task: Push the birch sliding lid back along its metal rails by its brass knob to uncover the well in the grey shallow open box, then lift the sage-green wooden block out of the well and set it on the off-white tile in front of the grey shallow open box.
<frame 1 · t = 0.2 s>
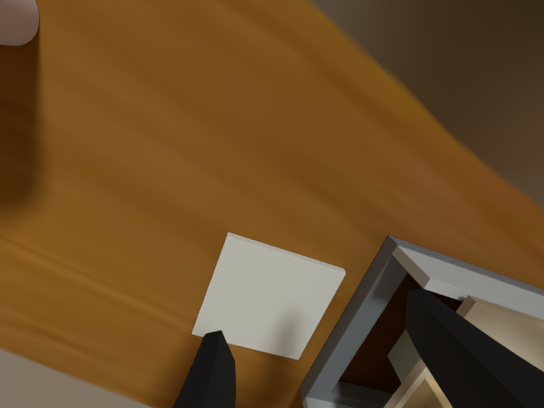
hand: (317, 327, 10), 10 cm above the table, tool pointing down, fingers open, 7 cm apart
smoothie: (6, 9, 15), on the table
tile: (266, 299, 22), on the table
grey shallow open box: (422, 343, 25), on the table
block: (421, 342, 25), resting in grey shallow open box
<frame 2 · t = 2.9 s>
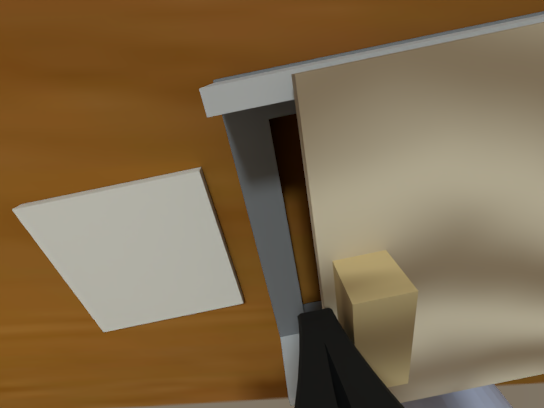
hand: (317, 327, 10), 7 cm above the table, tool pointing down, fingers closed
lid: (495, 291, 10), point 7 cm above the table, slide at 0.1 cm, touching gripper
tile: (147, 257, 16), on the table
grey shallow open box: (396, 205, 16), on the table
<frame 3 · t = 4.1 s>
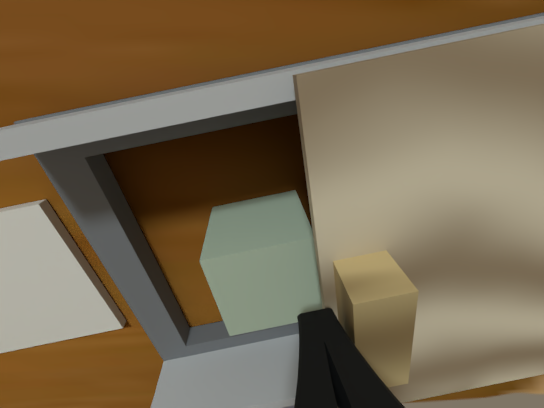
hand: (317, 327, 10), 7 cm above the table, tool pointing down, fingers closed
lid: (494, 291, 10), point 7 cm above the table, slide at 8.8 cm, touching gripper
tile: (14, 284, 17), on the table
grey shallow open box: (262, 233, 16), on the table
block: (262, 232, 17), resting in grey shallow open box
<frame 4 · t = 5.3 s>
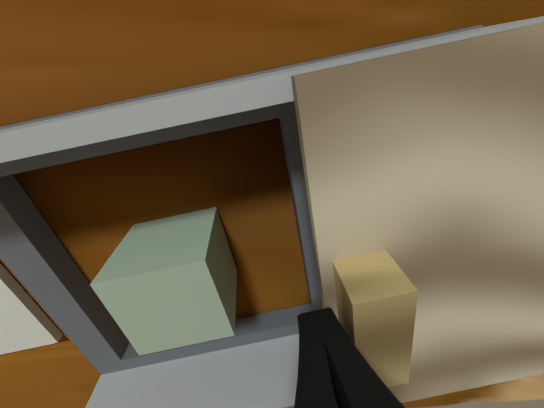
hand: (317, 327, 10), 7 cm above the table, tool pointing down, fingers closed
lid: (494, 290, 10), point 7 cm above the table, slide at 13.5 cm, touching gripper
grey shallow open box: (188, 249, 17), on the table
block: (189, 248, 17), resting in grey shallow open box
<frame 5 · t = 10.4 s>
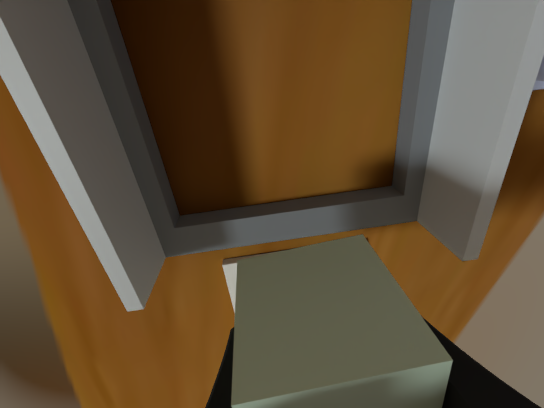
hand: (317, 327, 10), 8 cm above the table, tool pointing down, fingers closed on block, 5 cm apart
tile: (296, 298, 21), on the table
grey shallow open box: (275, 83, 14), on the table
block: (307, 292, 11), point 7 cm above the table, touching gripper
when the fingers open (3 cm above the table, at t = 12.4 s): block drops 1 cm, resting on tile.
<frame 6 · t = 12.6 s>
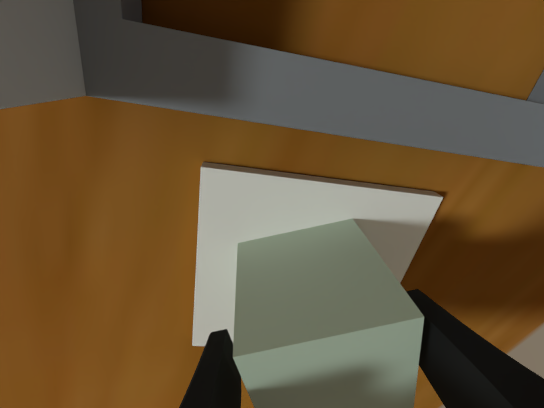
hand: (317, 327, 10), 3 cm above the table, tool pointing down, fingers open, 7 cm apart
tile: (301, 271, 13), on the table
block: (302, 274, 12), point 1 cm above the table, touching tile
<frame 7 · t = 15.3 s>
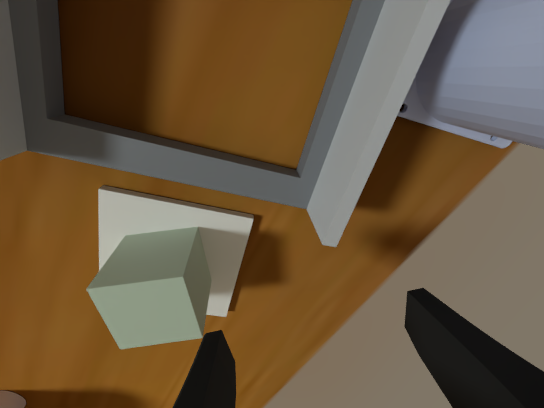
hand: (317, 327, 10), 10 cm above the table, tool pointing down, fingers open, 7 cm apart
smoothie: (6, 398, 26), on the table
tile: (174, 257, 20), on the table
grey shallow open box: (209, 12, 13), on the table
block: (171, 259, 19), point 1 cm above the table, touching tile
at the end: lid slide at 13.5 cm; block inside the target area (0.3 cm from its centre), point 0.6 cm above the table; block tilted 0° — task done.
